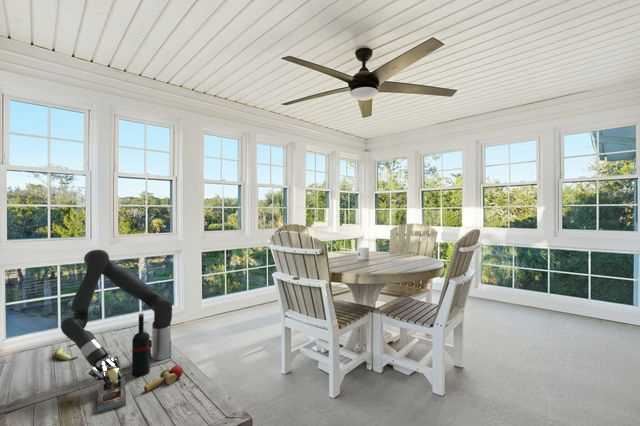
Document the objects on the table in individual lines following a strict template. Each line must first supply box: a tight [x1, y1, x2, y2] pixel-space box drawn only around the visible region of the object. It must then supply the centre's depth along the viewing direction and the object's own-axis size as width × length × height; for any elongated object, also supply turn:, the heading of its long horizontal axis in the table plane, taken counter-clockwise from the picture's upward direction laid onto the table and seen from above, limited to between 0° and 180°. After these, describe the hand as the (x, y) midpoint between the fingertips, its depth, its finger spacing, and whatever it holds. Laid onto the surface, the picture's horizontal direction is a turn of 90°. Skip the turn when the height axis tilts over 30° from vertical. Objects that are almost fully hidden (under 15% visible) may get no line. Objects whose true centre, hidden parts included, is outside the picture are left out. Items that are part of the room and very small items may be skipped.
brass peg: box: [105, 366, 119, 390], centre depth 145 cm, size 4×4×10 cm
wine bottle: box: [131, 313, 153, 378], centre depth 162 cm, size 8×10×30 cm
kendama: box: [143, 365, 184, 393], centre depth 152 cm, size 8×6×18 cm
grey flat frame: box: [96, 376, 127, 414], centre depth 141 cm, size 10×22×3 cm, turn 33°
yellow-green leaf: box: [47, 343, 79, 371], centre depth 179 cm, size 35×27×4 cm
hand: (115, 381), depth 145 cm, fingers closed on brass peg, 4 cm apart
